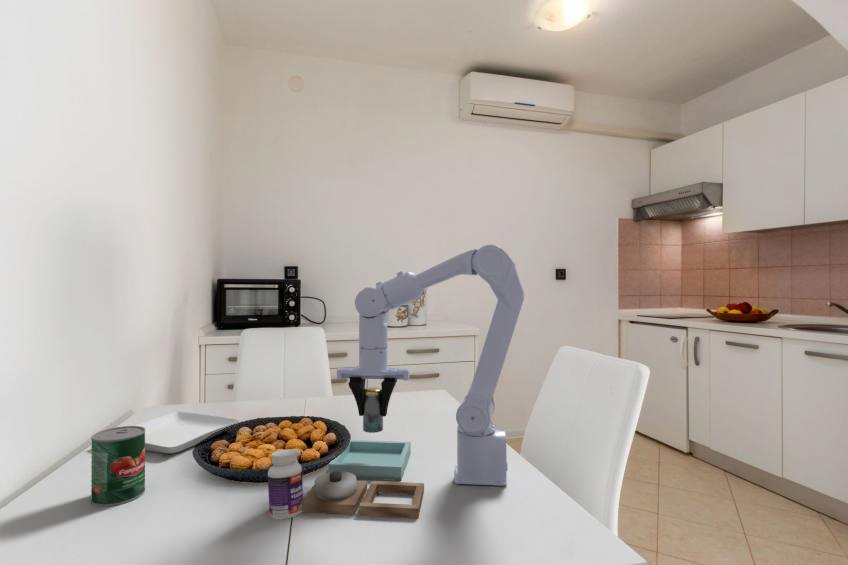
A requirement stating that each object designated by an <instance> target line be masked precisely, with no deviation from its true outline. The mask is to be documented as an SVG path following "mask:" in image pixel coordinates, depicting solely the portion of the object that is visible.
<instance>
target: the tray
mask: <svg viewBox="0 0 848 565" xmlns="http://www.w3.org/2000/svg"><path fill="white" fill-rule="evenodd" d="M349 440H350V443H349V446H348V448H347V449H346V450H345V451H344V452H343V453H342V454H341V455H339V456H338V457H337V458H335V459H334V460H332V459H331V460H332V461H330V462H329V463H328V473H329V472H335V471H343V472H349V473H352V474H354V475H355V476H356V480H358V479H359V480H381V481H402V480H403V476H404V475H405V471H406V468H407V465H408V463H409V460H410V456H411V452H412V451H411V450H412V448H411V447H412V446H411V445H412V444H411V441H396V440H395V441H392V440H391V441H390V440H361V439H349Z"/></svg>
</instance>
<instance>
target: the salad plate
mask: <svg viewBox="0 0 848 565" xmlns="http://www.w3.org/2000/svg"><path fill="white" fill-rule="evenodd" d="M239 422H240V419H237V418H233V417H232V418H231V417H226V416H219V415H210V414H204V413H195V412H185V411H175V412H171V413H168V414H167V413H166V414H165V415H161V416H158V417H156V418H151V419H149V420H145V421H143V422H140V423H137V424H134V425H133V426H140V427H144V428H145V452H146V451H147V452H153V453H160V454H161V453H162V454H176V453H180V452H182V451H184V450H187V449H189V448H193V447H194V446H196V444H197V443H199V442H200V441H202V440H203V439H205V438H206V437H208V436H209V435H211V434H213V433H215V432H217V431H219V430H222V429H224V428H226V427H229V426H231V425H234V424H237V423H238V424H239ZM238 424H237V425H238ZM199 444H200V443H199ZM197 445H198V444H197Z"/></svg>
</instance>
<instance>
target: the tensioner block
mask: <svg viewBox="0 0 848 565" xmlns="http://www.w3.org/2000/svg"><path fill="white" fill-rule="evenodd" d="M424 493H425V483H424V482H406V481H405V482H401V481H400V482H399V481H384V480H381V481H377V480H372V481H371V482H370V484H369V486H368V481H367V480H357V479H356V476H355V475H354V474H352V473H349V472H343V471H335V472H329V471H328V472H326V473H322V474H321V475H318V476H317V477H316V478H315V479H314V484H313V486H312V487H311V488H310V490H309V491H308V492H307V493H306V494H305V496H303V502H302V513H317V514H318V513H321V514H337V515H339V514H340V515H356V514H357V511H358V510H359V516H368V517H369V516H370V517H389V518H407V519H408V518H409V519H419V517H420V512H421V508H422V502H423V499H424ZM377 494H399V495H400V494H402V495H413V499H412V502H411V504H410V503H409V504H408V503H407V504H404V503H384V502H383V503H382V502H374V501H375V499H376V496H377Z"/></svg>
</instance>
